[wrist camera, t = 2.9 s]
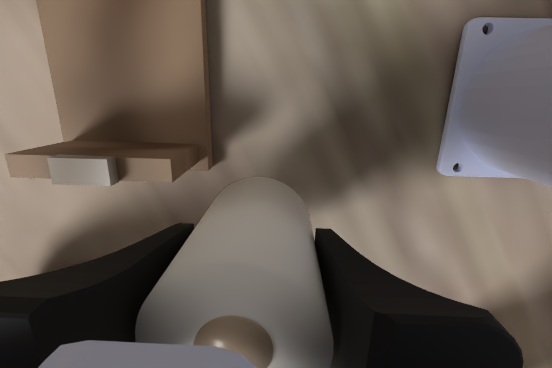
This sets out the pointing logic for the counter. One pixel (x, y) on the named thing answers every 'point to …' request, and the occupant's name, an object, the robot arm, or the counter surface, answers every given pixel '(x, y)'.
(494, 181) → the counter surface
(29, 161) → the holder
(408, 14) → the counter surface
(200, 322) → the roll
